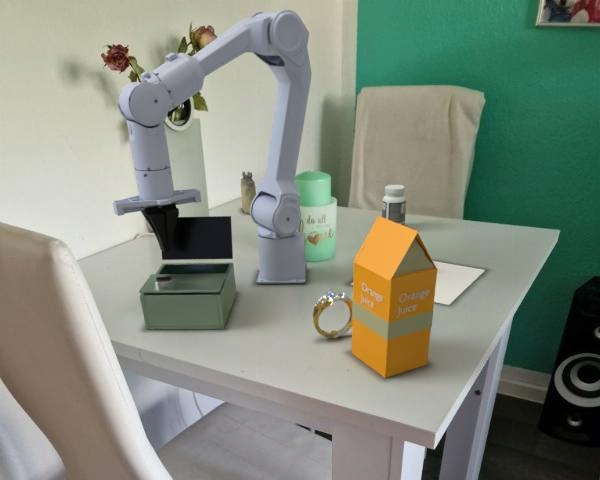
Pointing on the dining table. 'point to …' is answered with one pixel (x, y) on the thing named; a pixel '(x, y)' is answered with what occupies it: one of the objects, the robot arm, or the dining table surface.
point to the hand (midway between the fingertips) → (166, 250)
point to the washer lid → (201, 239)
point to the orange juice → (392, 299)
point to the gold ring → (320, 308)
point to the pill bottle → (394, 204)
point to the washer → (189, 296)
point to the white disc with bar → (163, 281)
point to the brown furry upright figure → (247, 191)
